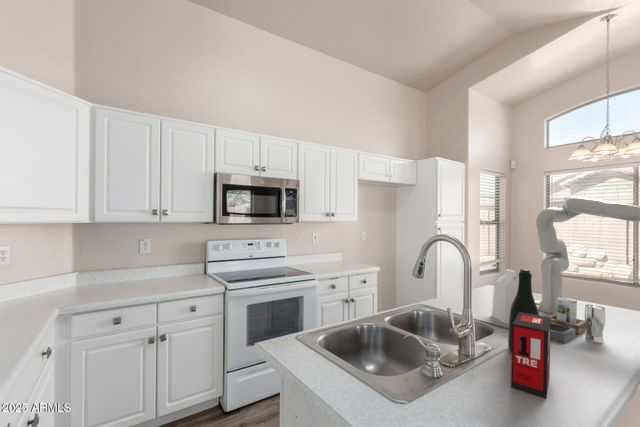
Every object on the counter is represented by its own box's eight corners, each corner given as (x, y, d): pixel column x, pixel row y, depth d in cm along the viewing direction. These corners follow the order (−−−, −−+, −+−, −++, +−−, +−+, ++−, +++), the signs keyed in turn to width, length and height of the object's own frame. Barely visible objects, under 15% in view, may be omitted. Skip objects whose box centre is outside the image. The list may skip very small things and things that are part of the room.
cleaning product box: (546, 399, 90) (547, 331, 90) (511, 387, 96) (512, 323, 96) (549, 377, 103) (550, 317, 103) (518, 368, 109) (519, 311, 109)
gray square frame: (530, 333, 142) (530, 325, 142) (541, 328, 149) (541, 320, 149) (564, 343, 131) (564, 334, 131) (575, 337, 138) (575, 328, 138)
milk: (527, 324, 155) (528, 272, 155) (504, 323, 155) (505, 272, 155) (513, 316, 167) (514, 268, 167) (491, 315, 167) (492, 268, 167)
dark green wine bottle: (533, 349, 125) (535, 268, 125) (544, 361, 115) (546, 272, 115) (504, 345, 127) (506, 266, 128) (512, 357, 117) (514, 270, 118)
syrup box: (555, 327, 151) (556, 297, 152) (564, 326, 153) (564, 297, 153) (568, 331, 146) (568, 300, 146) (576, 330, 148) (577, 300, 148)
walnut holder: (545, 326, 151) (545, 317, 151) (555, 322, 159) (555, 313, 159) (578, 335, 141) (578, 326, 141) (587, 330, 148) (587, 321, 148)
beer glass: (586, 341, 134) (587, 307, 134) (582, 336, 140) (582, 303, 140) (607, 345, 131) (608, 309, 131) (602, 339, 137) (602, 305, 137)
